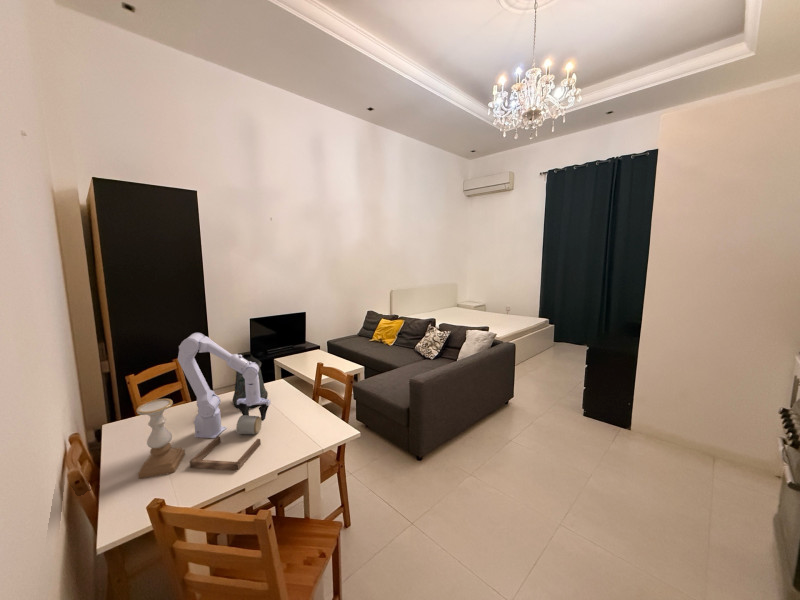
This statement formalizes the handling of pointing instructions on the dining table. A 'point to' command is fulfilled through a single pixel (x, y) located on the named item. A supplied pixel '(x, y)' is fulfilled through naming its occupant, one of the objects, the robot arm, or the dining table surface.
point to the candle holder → (159, 441)
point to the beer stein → (240, 384)
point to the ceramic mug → (248, 424)
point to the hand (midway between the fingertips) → (255, 419)
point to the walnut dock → (222, 465)
